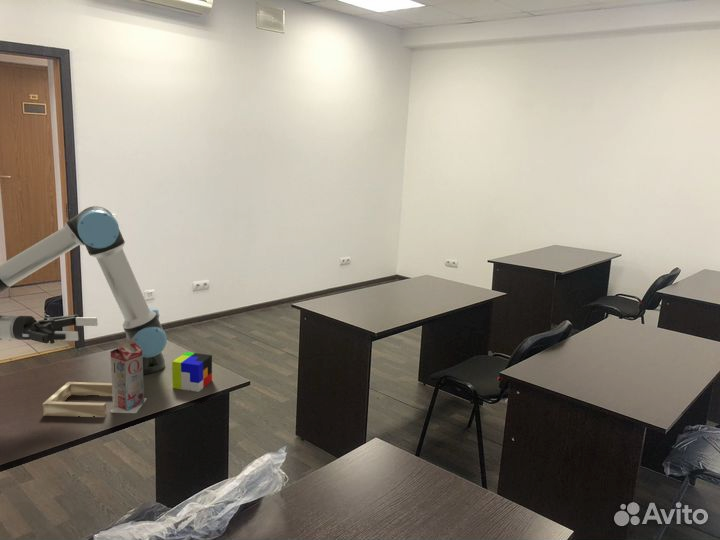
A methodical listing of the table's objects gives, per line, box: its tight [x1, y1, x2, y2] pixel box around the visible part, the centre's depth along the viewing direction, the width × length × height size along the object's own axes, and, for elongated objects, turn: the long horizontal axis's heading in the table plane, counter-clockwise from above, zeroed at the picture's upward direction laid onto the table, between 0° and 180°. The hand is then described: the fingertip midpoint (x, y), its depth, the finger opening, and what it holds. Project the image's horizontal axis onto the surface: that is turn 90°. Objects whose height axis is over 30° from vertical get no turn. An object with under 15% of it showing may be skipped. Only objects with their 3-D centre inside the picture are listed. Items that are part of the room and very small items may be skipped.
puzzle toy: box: [171, 351, 213, 393], centre depth 194 cm, size 10×10×10 cm
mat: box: [109, 397, 147, 414], centre depth 176 cm, size 10×8×1 cm
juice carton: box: [110, 338, 145, 411], centre depth 174 cm, size 7×7×22 cm
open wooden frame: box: [42, 381, 113, 418], centre depth 175 cm, size 16×18×4 cm
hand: (87, 328), depth 170 cm, fingers open, 13 cm apart
